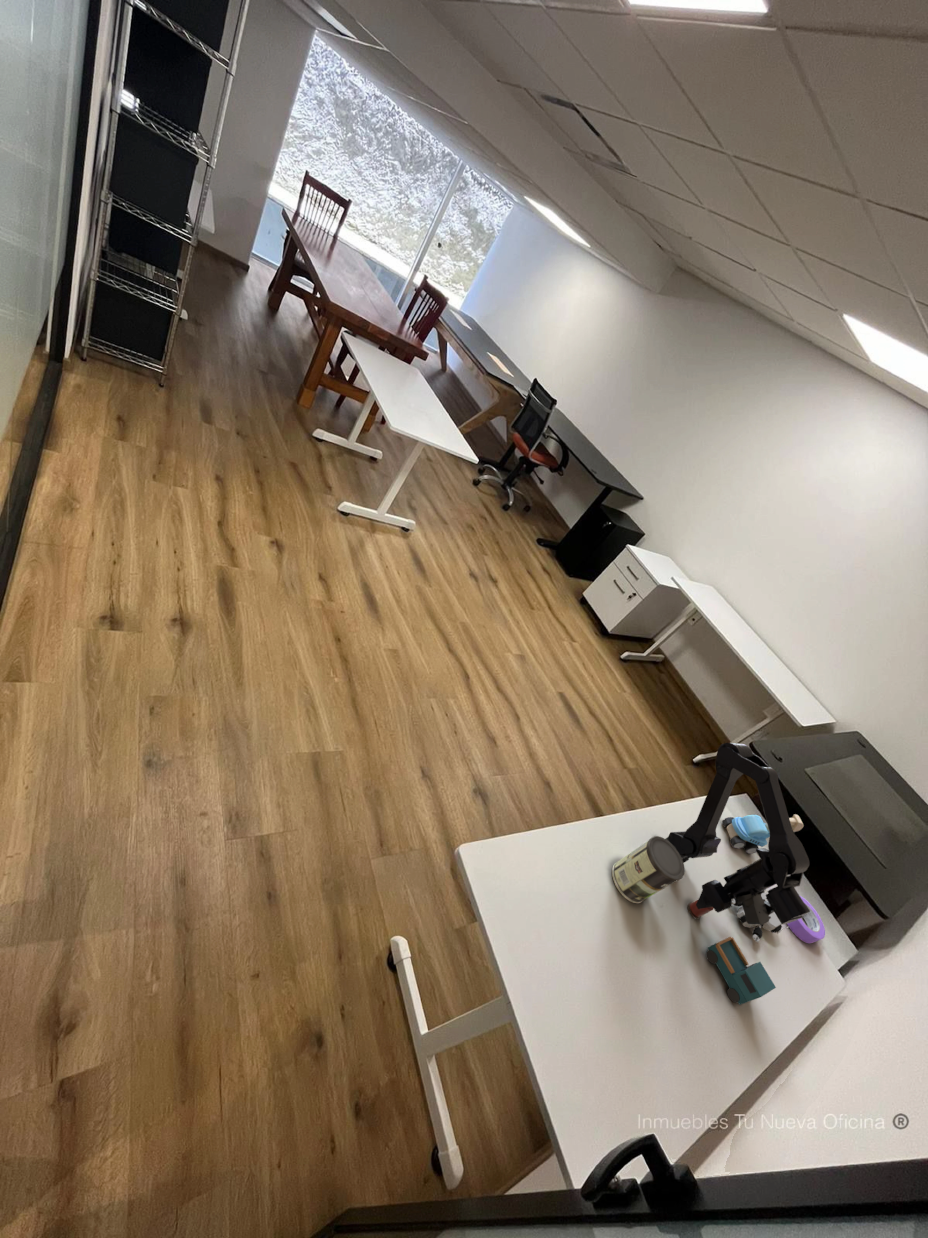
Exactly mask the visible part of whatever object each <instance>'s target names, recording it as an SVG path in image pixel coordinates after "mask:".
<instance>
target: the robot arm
mask: <svg viewBox="0 0 928 1238" xmlns="http://www.w3.org/2000/svg"><path fill="white" fill-rule="evenodd" d="M714 764H715V775H714V777H713V780H712V782H711V784H710V787H709V789H708V792H707V794H706V797H705V799H704V801H703V804H702V806H701V809H700V811H699V814H698V815H697V818H696V820H695V821H694V822H693V823H692V824H691V825H690V826H689V827H688V828H687V829H686V830H684V831H671V832H670V833H669V835H668V836H667V837H666V838H665V839H666V840H667V841H669V842H670V843H671V844H672V845H673V846H674V847H675V848H676V850H677V851H678V853H679V854H680V856H681V858H682V860H683V863H684V864H685V863H686V862H688V861H689V860H690V859H698V858H707V857H712V856H713V854H717V853H718V847H719V845H720V844H721V842H722V839H721V838H720V837H718V836H717V827H718V824H719V822H720V819H721V818H722V815H723V813H724V811H725V809H726V806H727V803H728V801H729V799H730V797H731V794H732V792H733V789H734V786H735V784H736V782H737V781H738V780H739V779H740V778H741V777H742V776H743V775H744V776H747V777H749V778H751V779H752V780H753V781H755V784H756V788H757V792H758V795H759V800H760V803H761V806H762V810H763V813H764V816H765V817H764V818H765V821H766V823H767V824H768V828H769V834H770V837H768V838H769V839H768V842H767V848H766V847H761V848H759V849H756V854H757V855H758V857H759V859H757V860H755V861H753V862H752V863H749V864H748V865H746V866H744V867H741V868H738V869H737V870H736V871H735V872H733V873H732V874H731V873H730V874H729V875H726V876H724V877H723V880H724V881H725V884H724V885H723V884H722V883H721V881H719V880H716V879H713V880H710V881H707V882H705V883H703V884H702V885H701V889H702V890H701V893H700V894H699V897H698V898H697V900H698V901H697V903H696V906H697V908H698V909H703V908H708V907H713V908H714V909H713V910H714V911H715V912H716V913H721V912H723V911H726V910H728V909H729V908H732V905H733V904H732V899H734V898H735V899H736V901H737V903H738V904H740V903H742V902H743V903H742V906H741V907H743V910H744V913H745V916H746V921H747V923H748V924H757V925H762V924H765V923H767V922H769V919H770V918H771V916H769V915H770V914H772V913H773V912H775V914H776V916H777V917H778V919H779V921H780V922H781V925H787V923H790V922H793V921H796V920H798V919H800V918H801V919H804V918H803V916H804V915H806V914H807V913H809V912H810V910H809V908H808V907H807V905H806V904H805V903H804V902H803V901H802V899H801V897H802V896H801V895H800V894H799V893H798V891H797V889H796V887H800V886H801V883H802V879H803V876H804V873H805V872H807V870H808V868H809V867H810V858H809V856H808V853H807V852H806V850H805V847H804V846H803V845H804V844H803V843H802V842H801V840H800V839H799V837H797V835H796V834H795V832H794V831H793V829H792V826H791V823H790V820H789V818H790V817H789V813H788V810H787V809H788V808H787V806H786V803H785V800H784V796H783V793H782V792H783V791H782V790H781V786H780V783H779V774H778V772H777V771H776V770H775V769H774V768H772V767H771V766H770V765H768V764H767V763H766V762H765V760H763V759H762V757H760V756H758V755H757V754H756V753H754V752H753V751H752V748H750V746H749V745H747V744H744V743H738V742H736V743H735V742H724V743H721V744H720V745H719V746H718V748H717V751H716V756H715V760H714ZM775 885H776V886H775ZM773 886H775V887H773ZM771 887H772V888H771ZM769 888H770V889H769ZM767 889H769V890H767ZM766 890H767V893H766ZM764 892H765V893H766V897H767V898H766V899H767V900H768V902H767V901H765V899H762V896H761V894H762V893H764ZM800 896H801V897H800Z"/></svg>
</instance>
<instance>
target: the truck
mask: <svg viewBox="0 0 928 1238" xmlns="http://www.w3.org/2000/svg"><path fill="white" fill-rule="evenodd" d="M706 948H707V951H706V953H705V956H706V959H707V961H708V962H710V963H711V964H714V965H716V966H717V968H718V970H719V972H720V973H721V975H722V977H723V979H724V980H725V983H726V984H727V986H728V989H727V990H726V992H727V993H726V994H727V997H728V999H729V1000H730V1001H731V1002H733V1003H737V1004H738V1006H740V1005H743V1004H747V1003H748V1002H751V1001H755V1000H757V999H759V998H762V997H764V996H765V995H767V994H768V993H770V992H772V991H774V990H775V989H776V988H777V987H776V985H775V983H774V982H773V980H772V979H771V977H770V976H769V973H768V972H767V971H766V968H765V967H764V965H763V964H762V962H761V961H758V962H755V963H753V964H752V963H751V964H750V965H749V962H748V961H747V959H746V956H745V955H744V954H743V952H742V950H741V949H740V947H739V945H738V943H737V942H736V940H735V938H734V936H733V937H732V936H729V937H726V938H724V939H722V940H720V941H718V942H715V943H714V944H712V945H710V946H707V947H706Z"/></svg>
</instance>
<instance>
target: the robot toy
mask: <svg viewBox="0 0 928 1238" xmlns="http://www.w3.org/2000/svg"><path fill="white" fill-rule="evenodd" d="M766 894H767V893H766V891H765V892H764V893H762V894H761V896H762V899H765V901H767V902H768V900H767V899H766V898H767V897H766ZM742 903H743V902H742ZM742 903H740V904H738V903H737V901H736V899H735V898H734V899H732V905H733V906H735V907H738V911H737V913H736V915H737V918H738V919H739V921H740V923H741V925H742V926H743V927H746V928H749V929H753V930H752V934H751V936H752V940H754V941H755V943H760V941H761V938H762V936H763V930H762V928H763V929H764V930H766V931H768V932H771V933H777V934H780V933H781V932H782V931H785V929H788V928H789V926H786V927H784V928H783V926H782V924H781V922H780V921H779V919H778V917H777V916H776V914H775V912H773V913H772V914H770V915H769V916H771V918H770V919H769V922H767V923H765V924H762V925H757V924H748V923H747V921H746V916H745V913H744V910H743V906H742ZM782 928H783V929H782Z"/></svg>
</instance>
